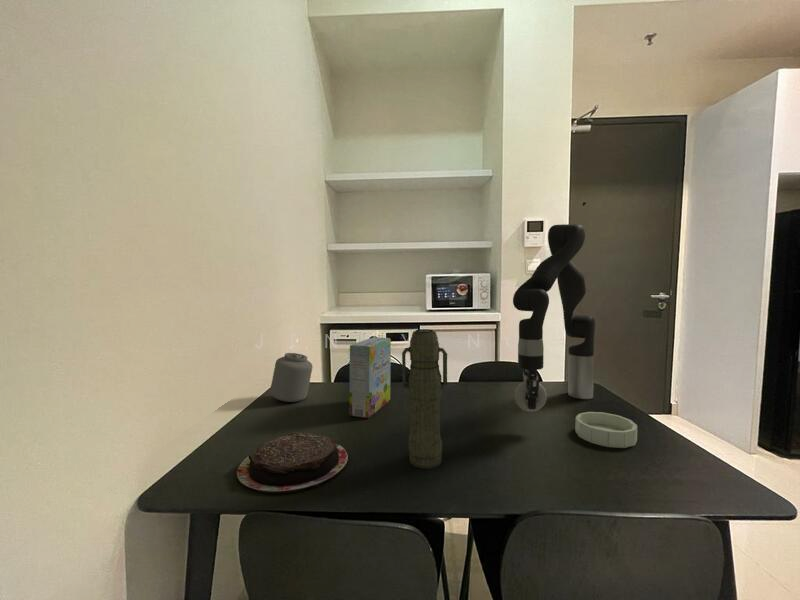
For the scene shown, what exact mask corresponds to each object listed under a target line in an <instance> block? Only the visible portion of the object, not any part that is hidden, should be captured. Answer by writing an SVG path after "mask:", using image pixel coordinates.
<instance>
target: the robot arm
mask: <svg viewBox="0 0 800 600" xmlns="http://www.w3.org/2000/svg"><path fill="white" fill-rule="evenodd" d="M585 239H586V231H585V228H584V226H583V225H581V224H576V223H575V224H573V223H572V224H566V223H565V224H564V223H563V224H553V225H552V226H550V227H549V229H548V232H547V242H548V243H547V244H548V248H549V251H550V254H551V255H549V257H547V258H545V259H544V260H543V261H542V262H540V263H539V265H538V266H537V267H536V268H535V270H534V272H533V274H532V275H531V277H530V278H527V280H526V281H525V282H524V283H522V284H521V285H520V286H519V287H518V288H516V291H515V292H514V294H513V297H512V304H513V307H514V309H516V310H517V311H521V312H531V313H532V314H531V316H530V317H529V318H523V319H521V320H519V323H518V343H517V366H518V367H519V368H520V369H522V377H523V382H525V381H526V389H527V390H528V393H527V394H526V396H525V397H526V399H527V400H528V408H529V409H536V397H538V389H539V383H540V379H539V374H537V371H538V370H542V369H543V368H544V347H545V346H544V340H543V337H544V336H543V334H544V331H543V330H544V329H543V328H544V321H545V318H546V316H547V312H548V307H549V305H550V297H549V294H548V293H547V292H549V291H550V290H551V289H552V287H553V285H554V284H555V282H556V281H557V286H558V291H559V296H560V301H561V305H562V314H563V324H564V331H565V334H566V335H567V337H570V338H577V339H584V340H583V342H581V343H577V344H574V345H571V346H569V347H568V372H567V373H568V374H567V375H568V378H567V379H568V380H567V381H568V385H567V386H568V387H567V393H568V396H569V397H571V398H574V399H580V400H591V399H593V398H594V364H595V363H594V361H595V359H594V357H595V356H594V354H595V352H594V351H595V350H594V349H595V332H596V320H595V317H593V315H582V314H574V311H575V309H576V308H577V306H578V305H579V304H580V303H581V301H582V300H583V299H584V297H585V295H586V291H587V288H586V280H585V276H584V274H583V272H582V271H581V270H580V269H579V268H578V267H577V266H576V264H575V263H574V262H572V259H574V257H575V256H576V255H577V254H578V253H579V251H580V250H581V249H582V247H583V245H584V243H585ZM528 385H529V386H528ZM533 391H534V392H533Z"/></svg>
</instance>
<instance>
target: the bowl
mask: <svg viewBox="0 0 800 600" xmlns="http://www.w3.org/2000/svg"><path fill="white" fill-rule="evenodd" d="M574 425H575V428H574V429H575V431H574V432H575V434H577V436H578V437H579V438H580V439H583V440H584V441H587V442H589V443H590V444H595V445H599V446H601V447H606V448H619V449H626V448H629V447H634V446H636V443H637V441H638V424H636V423H635V422H634V421H633V420H631V419H629V418H627V417H624V416H621V415H618V414H614V413H613V414H612V413H607V412H603V411H602V412H601V411H598V412H597V411H587V412H580V413H578V414H577V415H576V416H575V424H574Z"/></svg>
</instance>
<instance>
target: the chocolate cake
mask: <svg viewBox="0 0 800 600" xmlns="http://www.w3.org/2000/svg"><path fill="white" fill-rule="evenodd" d="M348 455H349V454H348V453H347V451H346V449H345V448H344V447H343V446H342V445H340V444H338V443H337V439H336V438H334V437H331V438H329V437H328V436H326V435H320V434H316V433H315V434H314V433H309V432H291V433H287V434H286V435H285V434H284V435H282V436H278V437H275V438H274V439H272V440H269V441H266V442H264V443H261V444H260V446H258V447H257V448H256V449H254V450H252V451H251V452H249V454H248V456H247V457H246V458H244V459H243V460H242V461H241V463H240V464H239V466H238V467H237V468H238V469H237V470H236V478H237V480H238V481H239V483H240V484H241V485H242V486H244V487H247V488H250V489H252V490H257V491H258V492H260V493H262V494H290V493H301V492H302V491H304V490H305V489H307V488H313V487H314V488H315V487H319V486H321V485H323V484H324V483H326V481H327V480H331V479H334V478H335V479H336V478H337V476H338V474H339V473H340V472H341V471H342V470H343V469H344V468H345V467H346V465H347V462H348V460H349V456H348Z"/></svg>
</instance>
